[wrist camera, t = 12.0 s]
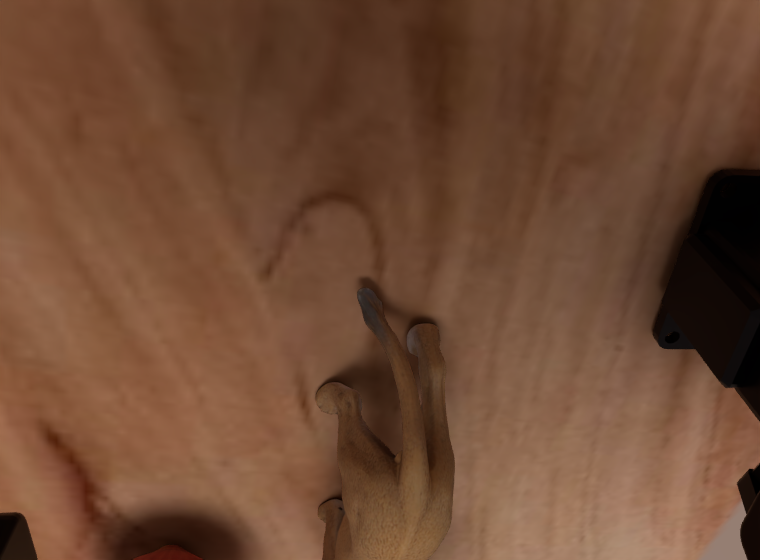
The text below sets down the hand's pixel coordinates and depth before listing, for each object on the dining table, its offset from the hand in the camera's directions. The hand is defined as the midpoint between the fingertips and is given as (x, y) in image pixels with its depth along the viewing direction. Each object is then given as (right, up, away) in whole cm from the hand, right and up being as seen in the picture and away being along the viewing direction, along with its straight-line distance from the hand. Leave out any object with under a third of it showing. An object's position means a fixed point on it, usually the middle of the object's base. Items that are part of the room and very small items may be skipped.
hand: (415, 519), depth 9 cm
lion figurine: (0, -3, +18) cm, 19 cm away
